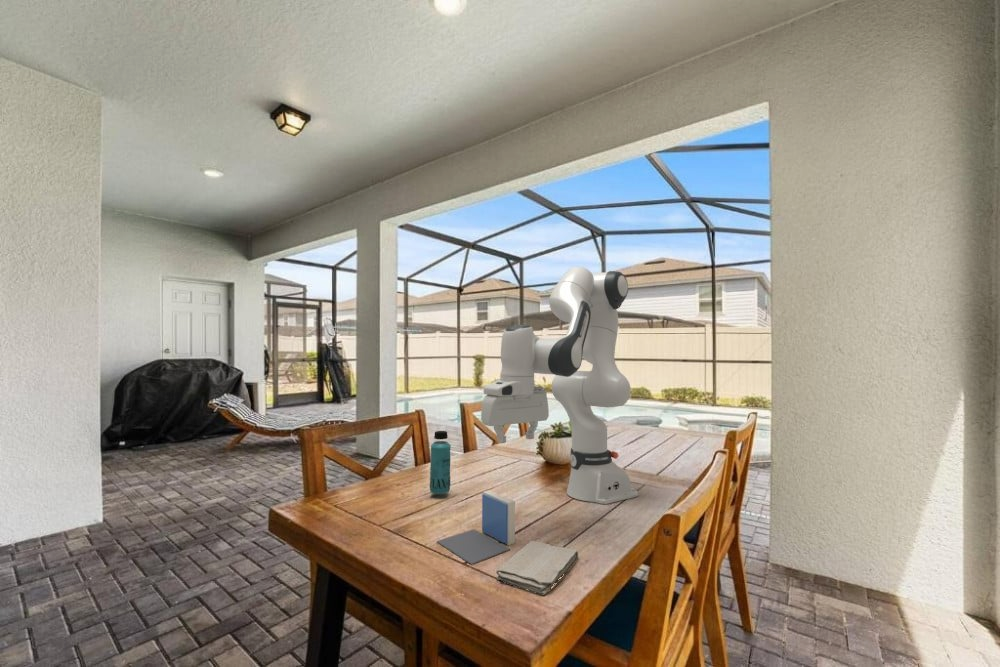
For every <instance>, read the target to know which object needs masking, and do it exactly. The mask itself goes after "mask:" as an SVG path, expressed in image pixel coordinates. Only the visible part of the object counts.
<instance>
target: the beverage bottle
mask: <svg viewBox="0 0 1000 667" xmlns="http://www.w3.org/2000/svg"><path fill="white" fill-rule="evenodd" d="M433 437H434V438H433V439H435V440H438V441H435V442H433V443H432V444H431V445H430V468H429V470H430V471H429V475H430V476H429V492H430V493H431V494H435V495H444V494H447V493H449V492H450V490H451V448H452V447H451V444H450V443H449V441H446V440H447V439H448V431H446V430H437V431H434V436H433Z"/></svg>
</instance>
